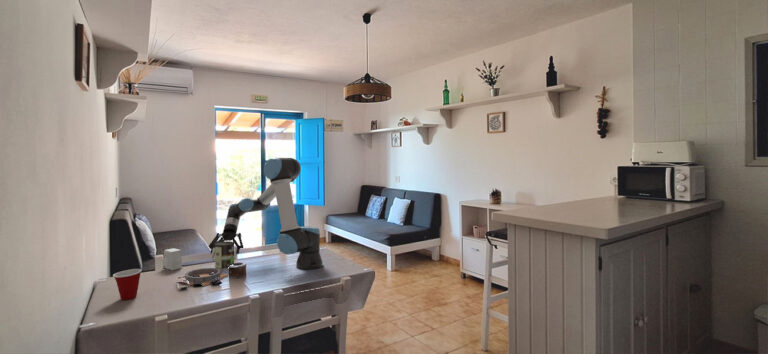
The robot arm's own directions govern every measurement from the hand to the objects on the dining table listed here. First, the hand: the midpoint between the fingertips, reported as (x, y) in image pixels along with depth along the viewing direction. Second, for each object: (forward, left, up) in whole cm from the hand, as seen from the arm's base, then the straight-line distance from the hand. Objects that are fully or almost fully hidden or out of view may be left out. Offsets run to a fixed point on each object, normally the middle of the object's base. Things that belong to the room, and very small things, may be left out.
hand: (223, 258), depth 216 cm
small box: (+27, +9, -6) cm, 29 cm away
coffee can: (+1, -2, -6) cm, 7 cm away
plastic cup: (+9, +51, -6) cm, 52 cm away
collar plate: (-3, +19, -6) cm, 20 cm away
